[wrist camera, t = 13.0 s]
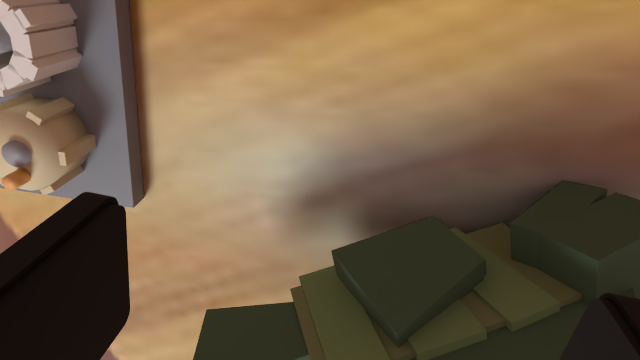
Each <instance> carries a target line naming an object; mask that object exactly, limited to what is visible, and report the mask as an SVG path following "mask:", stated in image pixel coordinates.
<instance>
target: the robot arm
mask: <svg viewBox="0 0 640 360" xmlns="http://www.w3.org/2000/svg"><path fill="white" fill-rule="evenodd" d="M129 312H130V297H129V275H128V253H127V231H126V212H125V208H124V207H123V206H121V205H119V204H118V201H117V199H116V198H115V197H112V196H107V195H102V194H97V193H92V192H83V193H81V194H80V195H78V196H77V197H76V198H74V199H73V200H72V201H70V202H69V203H68V204H66V205H65V206H64V207H62V208H61V209H60V210H58V211H57V212H56V213H54V214H53V215H52V216H50V217H49V218H48V219H46V220H45V221H44V222H42V223H41V224H40V225H38V226H37V227H36V228H34V229H33V230H32V231H30V232H29V233H28V234H26V235H25V236H24V237H22V238H21V239H20V240H18V241H17V242H16V243H14V244H13V245H12V246H11V247H9V248H8V249H6V250H5V251H4V252H2V253H1V254H0V360H100V359H101V357H102V356H103V355H104V353H105V352H106V350H107V349H108V348H109V346H110V345H111V343H112V342H113V341H114V339H115V338H116V336H117V335H118V334H119V332H120V331H121V329H122V328H123V327H124V325H125V323H126V321H127V319H128V316H129ZM559 360H640V299H638V298H633V297H628V296H623V295H618V294H613V293H604V294H603V295H601V296H600V297H599V298H594V299H593V300H591V301H590V303H589V304H588V306H587V308H586V310H585V312H584V314H583V316H582V317H581V319H580V321H579V323H578V325H577V327H576V329H575V331H574V332H573V334H572V336H571V338H570V340H569V342H568V344H567V346H566V347H565V349H564V351H563V353H562V355H561V357H560V359H559Z"/></svg>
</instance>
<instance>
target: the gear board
mask: <svg viewBox="0 0 640 360" xmlns="http://www.w3.org/2000/svg"><path fill="white" fill-rule="evenodd" d="M59 1H60V3H59V4H68V3H69V4H70V6H71V7H72V9H73V11H74V12H75V14H76V16H77V17H78V18H77V19H75V20H73V22H74V24H73V25H71V26H76V34H77V42H78V47H76V49H78V50H77V52H78V53H80V54H81V55H82V59H81V61H80V63H79V65H78V67H77V68H74V69H71V70H68V71H64V72H61V73H58V74H55V75H52V76H51V81H50V82H47V83H44V84H41V85H38V86H35V87H32V88H29V89H26V90H23V91H20V92H17V93H14V94H11V95H8V96H5V97H1V96H0V188H6V189H8V190H10V191H14V190H19V191H26V192H33V193H39V194H43V195H52V196H59V197H66V198H72V199H74V198H76V197H77V196H78V195H80V194H81V193H83V192H92V193H97V194H102V195H107V196H112V197H115V198H116V199H117V201H118V204H119V205H121V206H125V207H132V208H134V207H135V206H136V205H137V204H138V203H139V202H140V201H141V200H142V199H143V198H144V190H143V177H142V164H141V151H140V138H139V125H138V112H137V99H136V86H135V73H134V61H133V48H132V35H131V22H130V9H129V0H59ZM10 51H13V48H12V43H11V38H10V35H9V34H8V32H7V31H6V29H5V28H4V26H3V25H2V23H1V22H0V54H1V53H6V52H10Z"/></svg>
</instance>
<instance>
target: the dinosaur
mask: <svg viewBox="0 0 640 360" xmlns="http://www.w3.org/2000/svg"><path fill="white" fill-rule="evenodd" d="M332 256H333V260H334V266H331V267H328V268H325V269H322V270H318V271H315V272H312V273H309V274H306V275H302V276H299V279H300V283H301V286H298V287H295V288H292V289H290V290H291V294H292V297H293V301H294V302H288V303H277V304H265V305H254V306H242V307H231V308H219V309H208V310H206V314H205V317H204V321H203V325H202V329H201V332H200V336H199V340H198V343H197V347H196V351H195V354H194V358H193V360H559V359H560V357H561V355H562V353H563V351H564V349H565V347H566V346H567V344H568V342H569V340H570V338H571V336H572V334H573V332H574V331H575V329H576V327H577V325H578V323H579V321H580V319H581V317H582V316H583V314H584V312H585V310H586V308H587V306H588V304H589V303H590V301H591V300H593V299H594V298H599V297H600V296H601V295H603V294H604V293H613V294H618V295H623V296H628V297H633V298H638V299H640V200H637V199H634V198H631V197H628V196H625V195H622V194H619V193H614V194H612V195H610V196H608V197H607V189H603V188H598V187H593V186H588V185H583V184H578V183H573V182H568V181H563V182H561V183H560V184H559V185H557V186H556V187H555V188H554V189H552V190H551V191H550V192H549V193H547V194H546V195H545V196H544V197H542V198H541V199H540V200H539V201H537V202H536V203H535V204H534V205H532V206H531V207H530V208H528V209H527V210H526V211H525V212H523V213H522V214H521V215H520V216H518V217H517V218H516V219H515V220H513V221H512V222H511V223H510V228H509V227H508V226H507V225H505V224H504V223H503V222H502V223H499V224H496V225H493V226H489V227H486V228H483V229H480V230H477V231H474V232H470V233H467V234H465V233H464V232H462V231H461V230H459V229H458V228H457V227H454V228H451V229H449V228H448V227H446V226H445V225H444V224H443V223H442V222H441V221H439V220H438V219H437V218H436V217H435V216H430V217H427V218H425V219H422V220H419V221H416V222H413V223H410V224H407V225H404V226H401V227H399V228H396V229H393V230H390V231H387V232H384V233H381V234H378V235H375V236H373V237H370V238H367V239H364V240H361V241H358V242H355V243H352V244H349V245H347V246H344V247H341V248H338V249H335V250H332Z"/></svg>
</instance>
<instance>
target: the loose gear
mask: <svg viewBox="0 0 640 360" xmlns="http://www.w3.org/2000/svg"><path fill="white" fill-rule="evenodd" d="M59 3H60V1H59V0H0V22H1V23H2V25H3V26H4V28H5V29H6V31H7V32H8V34H9V35H10V38H11V43H12V48H13V51H10V52H6V53H1V54H0V96H1V97H5V96H8V95H11V94H14V93H17V92H20V91H23V90H26V89H29V88H32V87H35V86H38V85H41V84H44V83H47V82H50V81H51V76H52V75H55V74H58V73H61V72H64V71H68V70H71V69H74V68H77V67H78V65H79V63H80V61H81V59H82V55H81V54H80V53H78V52H77V50H78V49H76V47H78V42H77V34H76V26H71V25H73V24H74V22H73V20H75V19H77V18H78V17H77V16H76V14H75V12H74V11H73V9H72V7H71V6H70V4H69V3H68V4H59Z"/></svg>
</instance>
